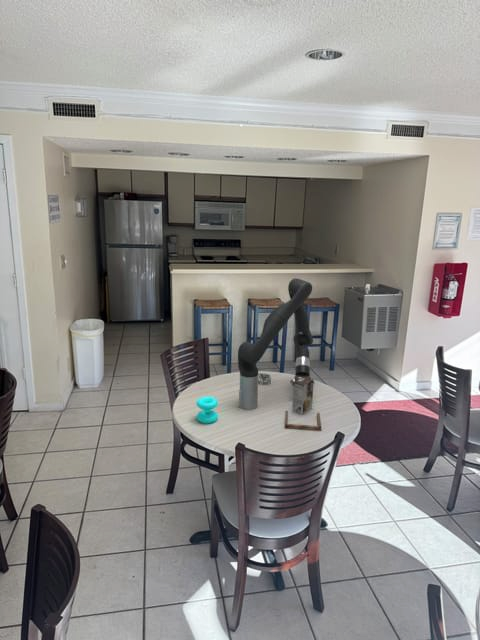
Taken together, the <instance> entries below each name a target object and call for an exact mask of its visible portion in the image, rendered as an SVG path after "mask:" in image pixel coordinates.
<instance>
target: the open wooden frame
mask: <svg viewBox="0 0 480 640" xmlns="http://www.w3.org/2000/svg"><path fill="white" fill-rule="evenodd" d="M284 416H285V419H284V429H285V430H287V429H288V430H301V431H302V430H303V431H315V432H316V431H317V432H321V431H322V422H321V421H322V420H321V414H320V412H316V421H317V422H316V423H317V425H313V424H312V425H311V424H310V425H309V424H296V423H295V424H294V423H289V422H288V421H289V411H288V410H285V415H284Z"/></svg>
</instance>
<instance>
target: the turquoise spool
mask: <svg viewBox="0 0 480 640" xmlns="http://www.w3.org/2000/svg"><path fill="white" fill-rule="evenodd" d="M218 404H219V402H218V399H216V398H215V397H213V396H203V397H200V398H198V399H197V401H196V406H197V407H198V409H200V411H199V412H198V413H197V415H196V419H197V421H198V422H200V423H201V422H202V423H201V424H213V423H215V422H216V421H217V420H218V417H219V415H218V413H217V412H216V411H215V410H214V409H215V408H217V406H218Z"/></svg>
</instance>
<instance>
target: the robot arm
mask: <svg viewBox="0 0 480 640" xmlns="http://www.w3.org/2000/svg"><path fill="white" fill-rule="evenodd" d="M287 289H288V294H289V298H290V299H289V300H288V301H287V302H285V303H283V304H281V305H279V306H277V307H275V308H274V309H272V310H271V312H270V313H269V314H268V316H266V319H265V320H264V322H263V327H262V331H261V334H260V335H259V336H260V337H258V339H257V340H256V342H255V343H252V342H250V341H244V342H242V343H241V344H240V345H239V346H238V351H237V365H238V366H237V367H238V370H239V390H238V408H239V409H243V410H249V411H251V410H255V409H257V408H258V403H259V402H258V400H259V379H258V373H259V369H258V367H257V365H256V363H258V362H259V361H260V360H261V359H262V357H263V356H264V354H265V353H266V352H267V350H268V348H269V346H270V345H271V344H272V342H273V341H274V339H276V337H277V336H278V334H279V333H280V331H282V329H283V328H284V327H285V326H286V324H287V323H288V321H289V320H290V319H291V317H292V316H293V315H294V322H295V323H294V324H295V325H294V326H295V330H296V332H299V333H295V334H294V336H293V343H294V346H295V347H294V348H295V352H296V356H295V357H296V358H295V372H294V373H295V374H294V378H293V379H290V384H291V386H292V387H293V386H294V381H296V380H298V379H299V378H301V377H307V378H310V379H312V378H311V372H310V371H311V361H310V350H309V349H308V348H306V347H309V346H312V345H313V342H314V338H313V335H312V332H311V330H310V326H309V325H310V324H309V322H310V321H309V315H308V313H307V311H306V308H305V307H304V302H306V300H307V299H308V298H309V297H310V295H311V294H312V292H313V291H312V290H313V285H312V283H311V282H309V281H306V280H303V279H301V278H296V277H295V278H292V280H290V281H289V283H288V287H287ZM314 385H315V380H313V386H314Z"/></svg>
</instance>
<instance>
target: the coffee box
mask: <svg viewBox="0 0 480 640" xmlns="http://www.w3.org/2000/svg"><path fill="white" fill-rule="evenodd" d="M310 378H311V377H310ZM310 378H307V377H301V378H299V379H298V380H296V381H294V386H293V385H292V387H293V389H292V391H293V392H292V393H293V394H292V413H295V414H298V415H301V416H304V415H305V414H307V413H308V412H310V411H311V410H312V409H313V396H314V385H313V381H314V379H312V378H311V379H310Z"/></svg>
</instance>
